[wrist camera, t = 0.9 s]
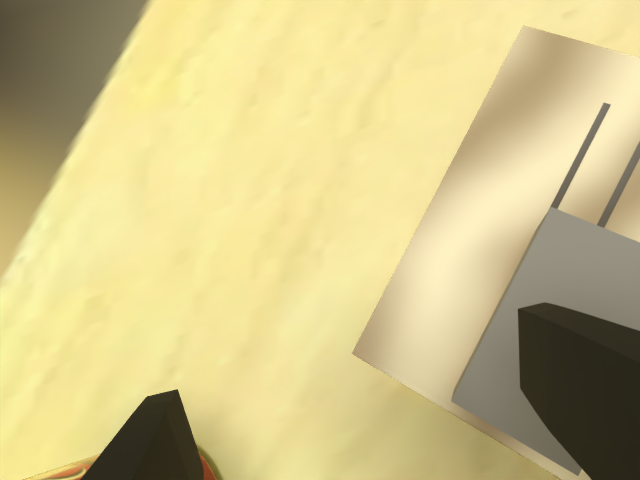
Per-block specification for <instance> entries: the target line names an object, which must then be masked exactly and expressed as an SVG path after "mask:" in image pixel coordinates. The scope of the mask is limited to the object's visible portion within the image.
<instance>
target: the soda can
mask: <svg viewBox="0 0 640 480" xmlns="http://www.w3.org/2000/svg"><path fill="white" fill-rule="evenodd" d="M99 456H100V454H99V455H96V456H93V457H90V458H87V459H84V460H81V461H78V462H75V463H72V464H69V465H66V466H63V467H60V468H57V469H54V470H51V471H48V472H45V473H42V474H38V475H35V476H32V477H29V478H26V479H23V480H80V479H81V478H82V477H83V475H84V474H85V473H86V472H87V470H88V469H89V468H90V467H91V465H92V464H93V463H94V462H95V460H96V459H97V458H98V457H99ZM199 456H200V459H201V462H202V465H203V468H204V480H217V479H216V477H215V475H214V473H213V471H212V469H211V467H210V466H209V464H208V463H207V462H206V460H205V459H204V458H203V457H202V455H200V454H199Z"/></svg>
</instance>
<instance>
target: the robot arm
mask: <svg viewBox="0 0 640 480" xmlns="http://www.w3.org/2000/svg"><path fill="white" fill-rule="evenodd" d="M518 334H519V369H520V389H521V390H522V392H523V394H524V395H525V397H526V398H527V400H528V401H529V403H530V404H531V406H532V407H533V409H534V410H535V412H536V413H537V415H538V416H539V417H540V419H541V420H542V422H543V423H544V425H545V426H546V427H547V429H548V430H549V431H550V433H551V434H552V435H553V436H554V437H555V438H556V440H557V441H558V442H559V443H560V444H561V445H562V446H563V448H564V449H565V450H566V451H567V452H568V453H569V455H570V456H571V457H572V458H573V459H574V460H575V461H576V463H577V464H578V465H579V466H580V467H581V468H582V469H583V470H584V472H585V473H586V474H587V475H588V476H589V477H590V478H591V480H640V331H639V330H635V329H632V328H629V327H626V326H623V325H620V324H617V323H614V322H611V321H607V320H604V319H601V318H598V317H595V316H592V315H589V314H586V313H582V312H579V311H576V310H573V309H569V308H566V307H562V306H558V305H555V304H550V303H546V302H544V303H539V304H535V305H531V306H527V307H523V308H518ZM80 480H204V468H203V465H202V462H201V459H200V456H199V453H198V450H197V447H196V444H195V441H194V438H193V434H192V431H191V428H190V425H189V422H188V419H187V416H186V413H185V410H184V407H183V404H182V401H181V398H180V395H179V392H178V389H177V390H173V391H169V392H164V393H160V394H156V395H152V396H147V397H146V398H145V399H144V401H143V402H142V403H141V404H140V405H139V406H138V408H137V409H136V410H135V411H134V413H133V414H132V415H131V416H130V418H129V419H128V420H127V422H126V423H125V424H124V425H123V427H122V428H121V429H120V430H119V432H118V433H117V434H116V436H115V437H114V438H113V439H112V441H111V442H110V443H109V444H108V446H107V447H106V448H105V449H104V451H103V452H102V453H101V454H100V456H99V457H98V458H97V459H96V460H95V462H94V463H93V464H92V465H91V467H90V468H89V469H88V470H87V472H86V473H85V474H84V475H83V477H82V478H81V479H80Z"/></svg>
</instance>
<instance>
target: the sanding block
mask: <svg viewBox="0 0 640 480" xmlns="http://www.w3.org/2000/svg"><path fill="white" fill-rule="evenodd" d="M544 302H546V303H550V304H555V305H558V306H562V307H566V308H569V309H573V310H576V311H579V312H582V313H586V314H589V315H592V316H595V317H598V318H601V319H604V320H607V321H611V322H614V323H617V324H620V325H623V326H626V327H629V328H632V329H635V330H639V331H640V242H637V241H635V240H632V239H630V238H627V237H625V236H622V235H620V234H617V233H615V232H612V231H610V230H608V229H605V228H603V227H600V226H598V225H595V224H593V223H590V222H588V221H585V220H583V219H580V218H578V217H575V216H573V215H570V214H568V213H565V212H563V211H560V210H558V209H555V208H553V207H551V208H550V209H549V211H548V212H547V214H546V215H545V217H544V218H543V220H542V221H541V223H540V224H539V226H538V227H537V229H536V230H535V232H534V234H533V236H532V238H531V240H530V242H529V244H528V246H527V248H526V250H525V252H524V254H523V256H522V258H521V259H520V261H519V263H518V265H517V267H516V269H515V271H514V273H513V275H512V277H511V279H510V281H509V283H508V285H507V287H506V289H505V291H504V293H503V294H502V296H501V298H500V300H499V302H498V304H497V306H496V308H495V310H494V312H493V314H492V316H491V318H490V320H489V322H488V324H487V326H486V327H485V329H484V331H483V333H482V335H481V337H480V339H479V341H478V343H477V345H476V347H475V349H474V351H473V353H472V355H471V357H470V359H469V361H468V362H467V364H466V366H465V368H464V370H463V372H462V374H461V376H460V378H459V380H458V382H457V384H456V386H455V388H454V391H453V395H452V399H451V402H453V403H455V404H457V405H458V406H460V407H462V408H463V409H465V410H467V411H468V412H470V413H472V414H474V415H475V416H477V417H479V418H480V419H482V420H484V421H485V422H487V423H489V424H490V425H492V426H494V427H496V428H497V429H499V430H501V431H502V432H504V433H506V434H507V435H509V436H511V437H512V438H514V439H516V440H518V441H519V442H521V443H523V444H524V445H526V446H528V447H529V448H531V449H533V450H535V451H536V452H538V453H540V454H541V455H543V456H545V457H546V458H548V459H550V460H551V461H553V462H555V463H557V464H558V465H560V466H562V467H563V468H565V469H567V470H568V471H570V472H572V473H574V474H575V475H577V476H579V474H580V472H581V470H582V468H581V467H580V466H579V465H578V464H577V463H576V461H575V460H574V459H573V458H572V457H571V456H570V455H569V453H568V452H567V451H566V450H565V449H564V448H563V446H562V445H561V444H560V443H559V442H558V441H557V440H556V438H555V437H554V436H553V435H552V434H551V433H550V431H549V430H548V429H547V427H546V426H545V425H544V423H543V422H542V420H541V419H540V417H539V416H538V415H537V413H536V412H535V410H534V409H533V407H532V406H531V404H530V403H529V401H528V400H527V398H526V397H525V395H524V394H523V392H522V390H521V389H520V369H519V334H518V308H523V307H527V306H531V305H535V304H539V303H544Z"/></svg>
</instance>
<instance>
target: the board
mask: <svg viewBox="0 0 640 480" xmlns="http://www.w3.org/2000/svg"><path fill="white" fill-rule="evenodd" d="M551 207H553V208H555V209H558V210H560V211H563V212H565V213H568V214H570V215H573V216H575V217H578V218H580V219H583V220H585V221H588V222H590V223H593V224H595V225H598V226H600V227H603V228H605V229H608V230H610V231H612V232H615V233H617V234H620V235H622V236H625V237H627V238H630V239H632V240H635V241H637V242H640V57H636V56H632V55H629V54H625V53H622V52H618V51H614V50H611V49H607V48H603V47H600V46H596V45H593V44H589V43H585V42H582V41H578V40H574V39H571V38H567V37H563V36H560V35H556V34H553V33H549V32H545V31H542V30H538V29H534V28H531V27H527V26H524V25H523V27H522V29H521V30H520V32H519V34H518V36H517V38H516V40H515V42H514V44H513V46H512V48H511V50H510V52H509V53H508V55H507V57H506V59H505V61H504V63H503V65H502V67H501V69H500V71H499V73H498V75H497V76H496V78H495V80H494V82H493V84H492V86H491V88H490V90H489V92H488V94H487V96H486V97H485V99H484V101H483V103H482V105H481V107H480V109H479V111H478V113H477V115H476V117H475V119H474V120H473V122H472V124H471V126H470V128H469V130H468V132H467V134H466V136H465V138H464V140H463V142H462V143H461V145H460V147H459V149H458V151H457V153H456V155H455V157H454V159H453V161H452V163H451V165H450V166H449V168H448V170H447V172H446V174H445V176H444V178H443V180H442V182H441V184H440V186H439V188H438V189H437V191H436V193H435V195H434V197H433V199H432V201H431V203H430V205H429V207H428V209H427V211H426V212H425V214H424V216H423V218H422V220H421V222H420V224H419V226H418V228H417V230H416V232H415V234H414V235H413V237H412V239H411V241H410V243H409V245H408V247H407V249H406V251H405V253H404V255H403V256H402V258H401V260H400V262H399V264H398V266H397V268H396V270H395V272H394V274H393V276H392V278H391V279H390V281H389V283H388V285H387V287H386V289H385V291H384V293H383V295H382V297H381V299H380V301H379V302H378V304H377V306H376V308H375V310H374V312H373V314H372V316H371V318H370V320H369V322H368V324H367V325H366V327H365V329H364V331H363V333H362V335H361V337H360V339H359V341H358V343H357V345H356V347H355V348H354V350H353V352H352V354H353V355H355V356H357V357H358V358H360V359H362V360H363V361H365V362H367V363H368V364H370V365H372V366H373V367H375V368H377V369H378V370H380V371H382V372H383V373H385V374H387V375H388V376H390V377H392V378H393V379H395V380H397V381H398V382H400V383H402V384H403V385H405V386H407V387H408V388H410V389H412V390H413V391H415V392H417V393H418V394H420V395H422V396H423V397H425V398H427V399H428V400H430V401H432V402H433V403H435V404H437V405H438V406H440V407H442V408H443V409H445V410H447V411H448V412H450V413H452V414H453V415H455V416H457V417H458V418H460V419H462V420H463V421H465V422H467V423H468V424H470V425H472V426H473V427H475V428H477V429H478V430H480V431H482V432H483V433H485V434H487V435H488V436H490V437H492V438H493V439H495V440H497V441H498V442H500V443H502V444H503V445H505V446H507V447H508V448H510V449H512V450H513V451H515V452H517V453H518V454H520V455H522V456H523V457H525V458H527V459H528V460H530V461H532V462H533V463H535V464H537V465H538V466H540V467H542V468H543V469H545V470H547V471H548V472H550V473H552V474H553V475H555V476H557V477H558V478H560V479H562V480H591V478H590V477H589V476H588V475H587V474H586V473H585V472H584V470H583V469H582V470H581V472H580V474H579V476H577V475H575V474H574V473H572V472H570V471H568V470H567V469H565V468H563V467H562V466H560V465H558V464H557V463H555V462H553V461H551V460H550V459H548V458H546V457H545V456H543V455H541V454H540V453H538V452H536V451H535V450H533V449H531V448H529V447H528V446H526V445H524V444H523V443H521V442H519V441H518V440H516V439H514V438H512V437H511V436H509V435H507V434H506V433H504V432H502V431H501V430H499V429H497V428H496V427H494V426H492V425H490V424H489V423H487V422H485V421H484V420H482V419H480V418H479V417H477V416H475V415H474V414H472V413H470V412H468V411H467V410H465V409H463V408H462V407H460V406H458V405H457V404H455V403H453V402H451V399H452V395H453V391H454V388H455V386H456V384H457V382H458V380H459V378H460V376H461V374H462V372H463V370H464V368H465V366H466V364H467V362H468V361H469V359H470V357H471V355H472V353H473V351H474V349H475V347H476V345H477V343H478V341H479V339H480V337H481V335H482V333H483V331H484V329H485V327H486V326H487V324H488V322H489V320H490V318H491V316H492V314H493V312H494V310H495V308H496V306H497V304H498V302H499V300H500V298H501V296H502V294H503V293H504V291H505V289H506V287H507V285H508V283H509V281H510V279H511V277H512V275H513V273H514V271H515V269H516V267H517V265H518V263H519V261H520V259H521V258H522V256H523V254H524V252H525V250H526V248H527V246H528V244H529V242H530V240H531V238H532V236H533V234H534V232H535V230H536V229H537V227H538V226H539V224H540V223H541V221H542V220H543V218H544V217H545V215H546V214H547V212H548V211H549V209H550V208H551Z"/></svg>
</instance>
